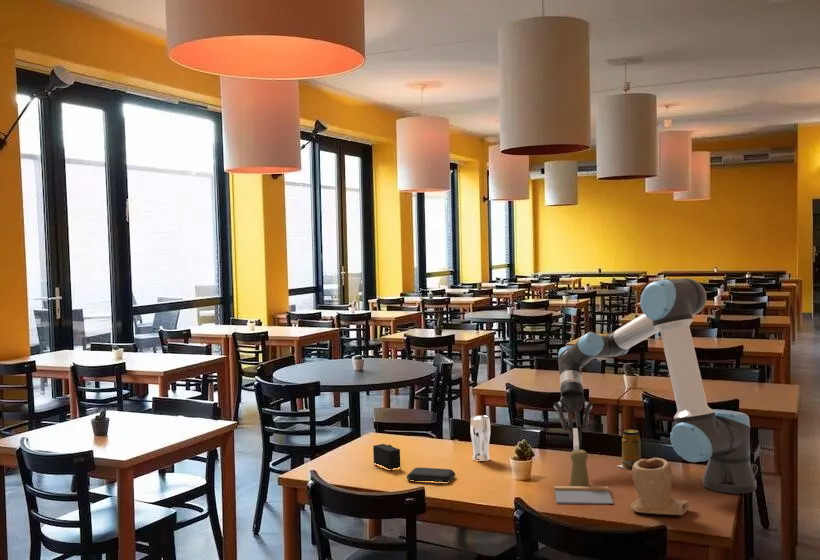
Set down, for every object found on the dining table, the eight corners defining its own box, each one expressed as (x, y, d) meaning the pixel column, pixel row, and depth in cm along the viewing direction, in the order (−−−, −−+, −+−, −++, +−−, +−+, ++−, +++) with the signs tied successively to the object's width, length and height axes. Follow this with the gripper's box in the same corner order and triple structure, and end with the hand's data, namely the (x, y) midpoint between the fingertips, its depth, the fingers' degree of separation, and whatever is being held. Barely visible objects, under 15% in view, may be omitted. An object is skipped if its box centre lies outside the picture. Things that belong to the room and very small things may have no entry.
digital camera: (403, 468, 270) (403, 448, 270) (390, 471, 267) (389, 451, 267) (386, 462, 278) (386, 442, 278) (373, 465, 275) (373, 445, 275)
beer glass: (494, 458, 279) (493, 416, 279) (485, 463, 273) (484, 420, 273) (476, 456, 283) (475, 414, 282) (467, 461, 277) (466, 418, 276)
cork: (590, 483, 247) (589, 448, 247) (588, 489, 242) (587, 453, 241) (571, 481, 249) (570, 447, 249) (568, 487, 244) (567, 452, 243)
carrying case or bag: (403, 484, 253) (448, 487, 249) (403, 474, 253) (448, 477, 249) (413, 474, 263) (456, 477, 259) (413, 465, 263) (456, 468, 259)
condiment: (629, 462, 270) (628, 427, 269) (650, 467, 263) (650, 431, 263) (616, 466, 265) (615, 431, 265) (638, 471, 259) (637, 435, 258)
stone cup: (627, 517, 216) (626, 463, 215) (633, 503, 227) (633, 452, 226) (686, 523, 210) (685, 467, 209) (689, 509, 221) (689, 456, 220)
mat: (554, 489, 242) (554, 485, 242) (607, 490, 240) (607, 486, 240) (556, 503, 229) (556, 499, 229) (613, 504, 227) (613, 500, 227)
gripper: (590, 393, 272) (596, 454, 256) (551, 393, 273) (555, 453, 257) (591, 380, 266) (597, 441, 250) (552, 380, 268) (556, 441, 252)
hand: (576, 447), depth 254 cm, fingers closed
